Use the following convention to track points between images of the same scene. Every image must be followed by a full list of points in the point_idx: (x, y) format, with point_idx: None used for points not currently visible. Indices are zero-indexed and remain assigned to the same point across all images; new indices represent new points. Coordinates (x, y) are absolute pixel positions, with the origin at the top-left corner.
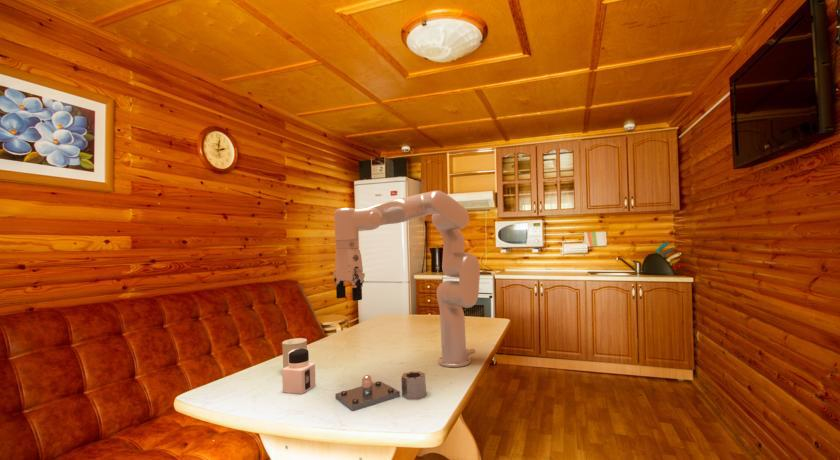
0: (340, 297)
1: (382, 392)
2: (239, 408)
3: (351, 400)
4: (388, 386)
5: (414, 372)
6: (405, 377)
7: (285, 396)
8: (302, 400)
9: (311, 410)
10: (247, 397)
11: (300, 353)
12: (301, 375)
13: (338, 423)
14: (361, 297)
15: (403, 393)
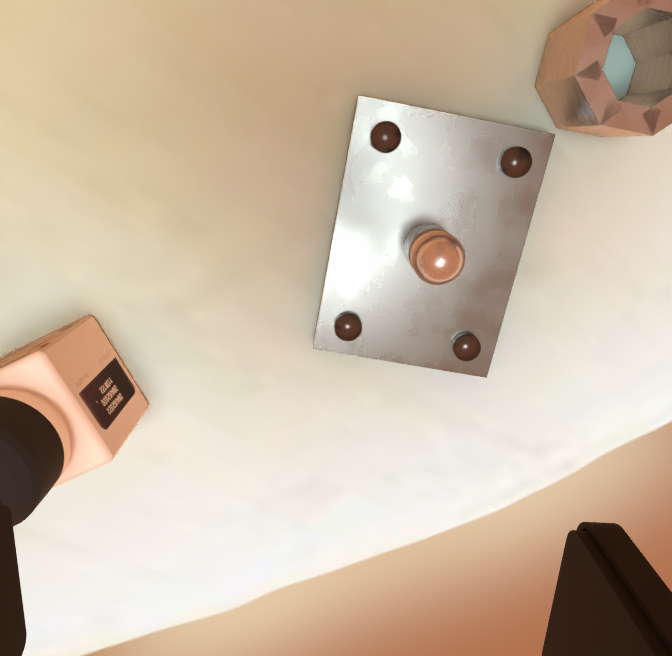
0: (19, 606)
1: (490, 200)
2: (106, 603)
3: (439, 348)
4: (456, 123)
5: (624, 13)
6: (630, 120)
7: (117, 457)
8: (216, 435)
9: (339, 459)
10: None
11: (32, 493)
12: (120, 446)
13: (517, 454)
14: (631, 555)
15: (576, 129)
